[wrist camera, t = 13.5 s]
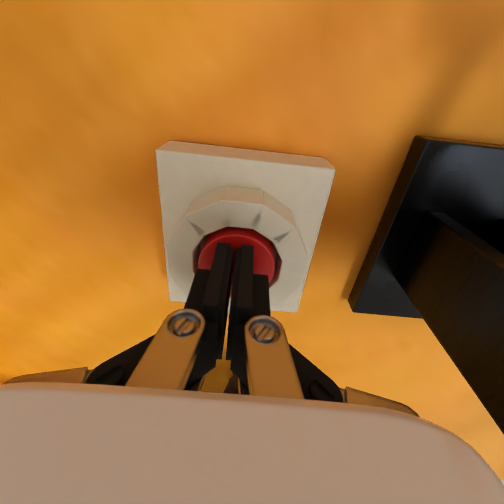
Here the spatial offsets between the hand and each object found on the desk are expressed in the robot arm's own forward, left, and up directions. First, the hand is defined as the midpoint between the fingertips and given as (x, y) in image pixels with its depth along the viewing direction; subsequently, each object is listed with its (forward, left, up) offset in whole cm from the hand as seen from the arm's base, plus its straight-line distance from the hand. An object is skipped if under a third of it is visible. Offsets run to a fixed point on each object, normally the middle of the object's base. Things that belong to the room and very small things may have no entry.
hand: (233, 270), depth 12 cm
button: (0, 0, -2) cm, 2 cm away
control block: (0, 0, -4) cm, 4 cm away
